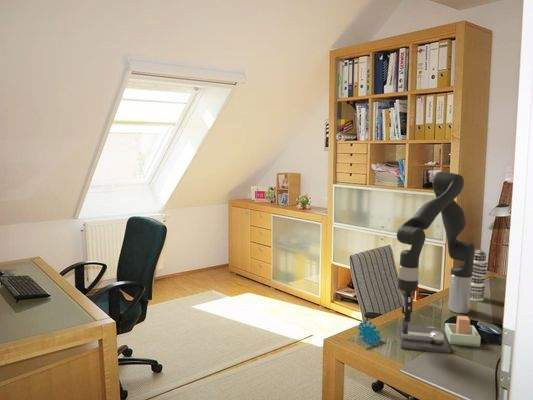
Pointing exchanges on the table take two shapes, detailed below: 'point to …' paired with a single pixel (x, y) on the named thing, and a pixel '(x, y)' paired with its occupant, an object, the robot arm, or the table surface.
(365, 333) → the gear
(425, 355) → the table surface
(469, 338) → the tray
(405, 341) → the base plate
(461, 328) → the block
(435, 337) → the crank
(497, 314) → the table surface
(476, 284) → the decorative candle
